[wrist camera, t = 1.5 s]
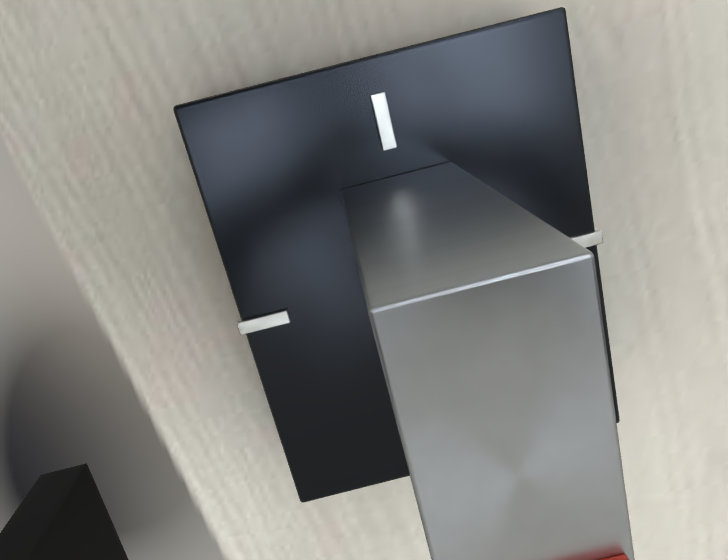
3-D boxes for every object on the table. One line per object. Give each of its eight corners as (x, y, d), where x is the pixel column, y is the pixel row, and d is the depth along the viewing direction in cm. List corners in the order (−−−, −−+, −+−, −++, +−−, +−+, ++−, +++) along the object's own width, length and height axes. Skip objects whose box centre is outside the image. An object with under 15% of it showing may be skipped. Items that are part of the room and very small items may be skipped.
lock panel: (189, 102, 19) (166, 108, 16) (531, 15, 19) (573, 4, 16) (299, 450, 23) (297, 508, 20) (584, 378, 23) (626, 425, 20)
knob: (339, 189, 17) (368, 316, 8) (452, 160, 17) (603, 256, 8) (391, 390, 19) (460, 671, 10) (492, 364, 19) (650, 623, 10)
